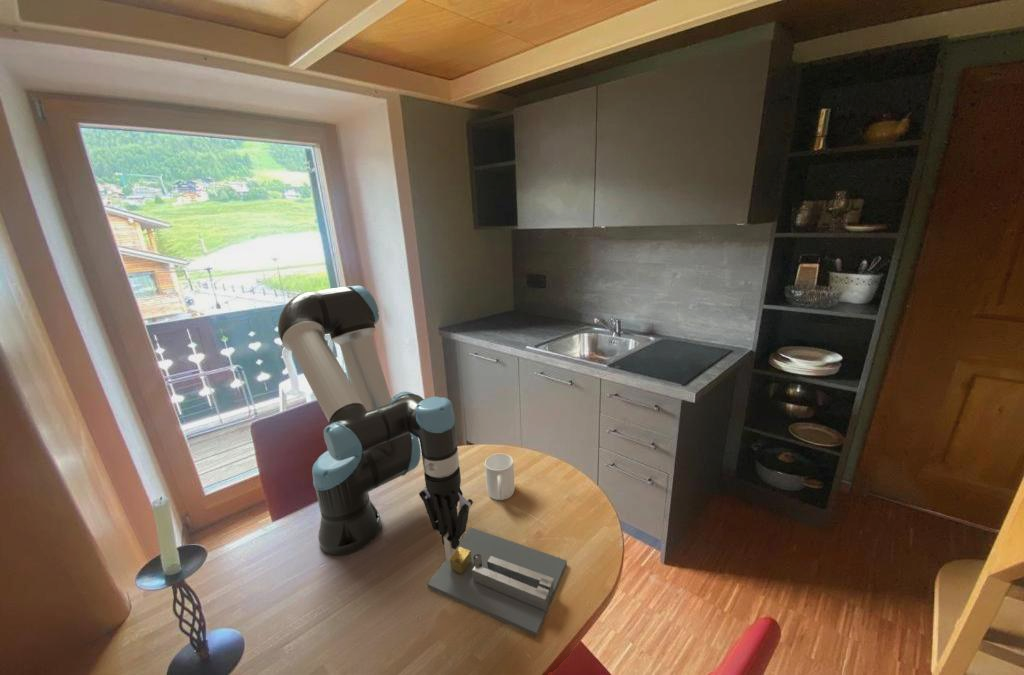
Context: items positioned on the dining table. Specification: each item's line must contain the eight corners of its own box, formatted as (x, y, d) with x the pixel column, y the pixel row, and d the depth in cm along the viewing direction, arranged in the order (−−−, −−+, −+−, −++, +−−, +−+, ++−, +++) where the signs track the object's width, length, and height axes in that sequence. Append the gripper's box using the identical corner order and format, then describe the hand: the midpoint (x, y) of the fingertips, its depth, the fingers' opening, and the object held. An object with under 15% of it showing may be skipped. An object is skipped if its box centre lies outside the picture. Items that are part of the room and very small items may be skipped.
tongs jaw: (486, 574, 87) (485, 563, 86) (491, 566, 89) (490, 555, 88) (550, 598, 81) (550, 587, 80) (554, 589, 83) (553, 578, 82)
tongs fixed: (469, 580, 86) (468, 564, 85) (477, 568, 89) (475, 552, 88) (545, 611, 78) (544, 594, 77) (551, 597, 81) (550, 581, 80)
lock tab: (451, 569, 89) (449, 559, 88) (460, 556, 92) (459, 546, 91) (462, 574, 87) (461, 564, 86) (471, 560, 91) (470, 550, 90)
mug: (516, 509, 108) (514, 477, 105) (486, 511, 108) (484, 479, 105) (513, 481, 120) (512, 452, 117) (487, 483, 119) (484, 454, 116)
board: (427, 588, 86) (427, 583, 86) (470, 530, 101) (470, 527, 101) (536, 637, 75) (536, 632, 74) (566, 564, 90) (566, 560, 90)
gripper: (406, 471, 83) (419, 559, 90) (457, 486, 77) (467, 579, 84) (428, 452, 89) (439, 536, 96) (477, 465, 84) (484, 553, 90)
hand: (452, 556), depth 90 cm, fingers closed
